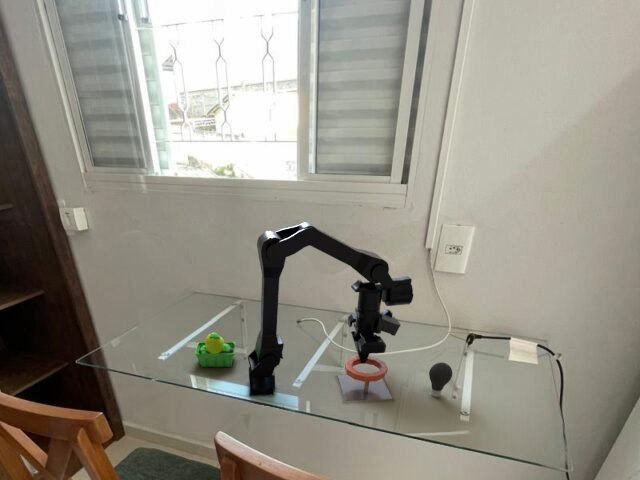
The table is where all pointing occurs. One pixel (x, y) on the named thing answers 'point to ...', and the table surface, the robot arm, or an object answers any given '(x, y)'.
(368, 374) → the ring
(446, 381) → the light bulb
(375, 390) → the peg stand
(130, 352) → the table surface
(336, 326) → the table surface
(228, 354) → the fruit basket
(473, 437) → the table surface
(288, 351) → the table surface
